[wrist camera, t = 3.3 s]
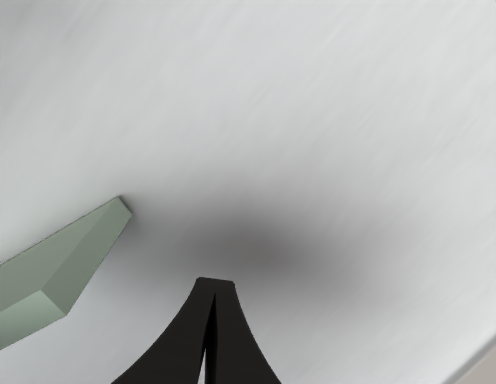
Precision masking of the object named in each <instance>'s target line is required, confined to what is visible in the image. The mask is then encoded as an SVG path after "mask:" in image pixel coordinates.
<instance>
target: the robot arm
mask: <svg viewBox="0 0 496 384" xmlns="http://www.w3.org/2000/svg"><path fill="white" fill-rule="evenodd" d="M205 348H206V353H205ZM204 353H205V384H282V383H281V382H280V381H279V379H278V378H277V376H276V375H275V373H274V372H273V370H272V369H271V367H270V366H269V364H268V362H267V361H266V359H265V357H264V356H263V354H262V352H261V350H260V349H259V347H258V345H257V343H256V341H255V339H254V337H253V335H252V333H251V330H250V328H249V326H248V324H247V321H246V319H245V316H244V314H243V311H242V309H241V306H240V303H239V300H238V296H237V293H236V289H235V284H234V283H233V281H228V280H220V279H212V278H205V277H199V278H197V279H196V282H195V285H194V287H193V289H192V291H191V293H190V295H189V296H188V298H187V300H186V301H185V303H184V304H183V306H182V307H181V309H180V311H179V312H178V314H177V315H176V316H175V318H174V319H173V320H172V322H171V323H170V324H169V325H168V327H167V328H166V329H165V331H164V332H163V333H162V334H161V335H160V337H159V338H158V339H157V340H156V341H155V342H154V343H153V345H152V346H151V347H150V348H149V349H148V350H147V351H146V352H145V353H144V354H143V355H142V356H141V357H140V358H139V359H138V360H137V361H136V362H135V363H134V364H133V365H132V366H131V367H130V368H129V369H127V370H126V371H125V372H124V373H123V374H122V375H121V376H119V377H118V378H117V379H116V380H115V381H113V382H112V383H111V384H198V379H199V375H200V371H201V366H202V362H203V357H204Z"/></svg>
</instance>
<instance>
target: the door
mask: <svg viewBox="0 0 496 384" xmlns="http://www.w3.org/2000/svg"><path fill="white" fill-rule="evenodd" d="M131 216H132V214H131V213H130V212H129V210H128V209H127V208H126V207H125V205H124V204H123V203H122V202H121V200H120V199H119V198H118V197H116V198H115V199H113V200H111V201H110V202H108V203H106V204H104V205H103V206H101V207H99V208H98V209H96V210H94V211H93V212H91V213H89V214H87V215H86V216H84V217H82V218H81V219H79V220H77V221H75V222H74V223H72V224H70V225H69V226H67V227H65V228H64V229H62V230H60V231H58V232H57V233H55V234H53V235H52V236H50V237H48V238H46V239H45V240H43V241H41V242H40V243H38V244H36V245H35V246H33V247H31V248H29V249H28V250H26V251H24V252H23V253H21V254H19V255H18V256H16V257H14V258H12V259H11V260H9V261H7V262H6V263H4V264H2V265H0V350H2V349H4V348H6V347H7V346H9V345H11V344H13V343H15V342H17V341H19V340H21V339H23V338H25V337H26V336H28V335H30V334H32V333H34V332H36V331H38V330H40V329H42V328H44V327H46V326H47V325H49V324H51V323H53V322H55V321H57V320H59V319H61V318H63V317H65V316H67V314H68V313H69V311H70V309H71V308H72V306H73V305H74V303H75V302H76V300H77V299H78V297H79V296H80V294H81V293H82V291H83V290H84V288H85V287H86V285H87V283H88V282H89V280H90V279H91V277H92V276H93V274H94V273H95V271H96V270H97V268H98V267H99V265H100V264H101V262H102V261H103V259H104V257H105V256H106V254H107V253H108V251H109V250H110V248H111V247H112V245H113V244H114V242H115V241H116V239H117V238H118V236H119V234H120V233H121V231H122V230H123V228H124V227H125V225H126V224H127V222H128V221H129V219H130V218H131Z"/></svg>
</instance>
